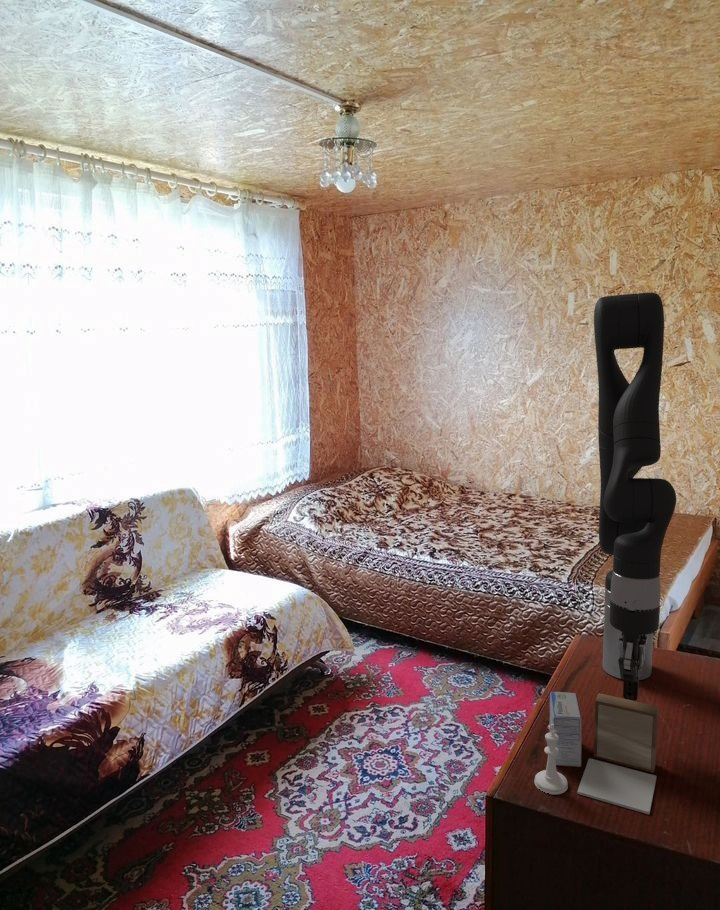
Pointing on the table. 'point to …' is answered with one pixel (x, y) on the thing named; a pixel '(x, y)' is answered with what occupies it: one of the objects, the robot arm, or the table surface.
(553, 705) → the medicine box
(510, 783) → the table surface
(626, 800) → the mat
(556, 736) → the chess piece
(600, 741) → the tile
